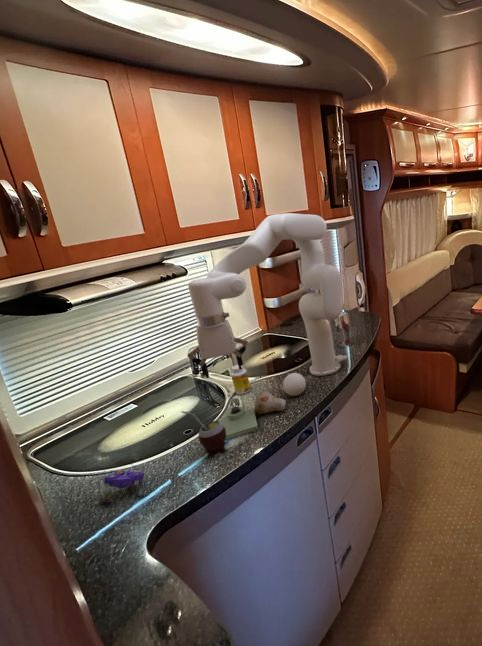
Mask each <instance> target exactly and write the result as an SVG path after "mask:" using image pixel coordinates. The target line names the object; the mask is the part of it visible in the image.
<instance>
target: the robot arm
mask: <svg viewBox="0 0 482 646" xmlns="http://www.w3.org/2000/svg"><path fill="white" fill-rule="evenodd" d="M327 230H328V226H327V223H326V220H325V219H324V218H323V217H322V216H321V215H317V214H305V213H293V212H289V213H288V212H287V213H286V212H284V213H276V214H275V213H274V214H271V215H268V216H267V217H265V218H264V219H263V220H262V221H261V222H260V224H259V225H258V226H257V227H256V228H255V230H254V231H253V232H252V233H251V234H250V235H249V236H248V238H247V239H246V240H245V241H244V242H243V243H242V244H240V245H239V246H238V247H236V248H235V249H233V250H232V251H230V252H229V253H228V254H227V255H225V256H224V257H223V258H222V259H220V261H219V262H217V264H216V265H215V266H214V267H213V268H212V269H211V270H210V271H209V273H208V274H207V276H206V277H203V278H197V279H194V280H191V281H189V283H188V286H187V287H188V288H187V289H188V291H189V295H190V299H191V302H192V307H193V311H194V315H195V318H196V322H197V325H196V327H195V328H196V330H195V331H196V339H197V346H195V347H194V348H193V349H192V350H190V351H189V352H187V354H186V357H187V358H188V359H189V360H190V361H192V363H194V364H195V365H198V366H199V367H200V369H201V372H202V375H203V376H205V378H206V379H208V378H210V373H209V370H208V365H207V360H210V359H215V358H218V357H219V358H220V357H222V356H227V355H231V354H233V355H235V357H236V361H237V365H238V366H239V369H240V370H241V369H242V368H241V366H242V365H243V366H244V362H243V358H242V356H243V355H244V353H245V351H246V350H247V347H248V343H249V341H248V340H247V339H245V338H240V337H236V336H234V332H233V329H232V326H231V324H230V322H229V320H228V319H227V318H229V317H230V313H229V312H225V311H224V309H223V306H222V300H227V299H228V300H229V299H235V298H238V297H240V296H241V295H243V294H244V293H245V291H246V289H247V282H246V280H245V278H244V277H243V276H242V275H240V274H241V273H243V272H244V271H247V270H249V269H251V268H253V267H256V266H259V265H260V264H262V263H265V261H267V259H269V257H270V255H271V254H272V253H273V252H274V250H275V249H276V248H277V247H278V246H279V244H280V243H281V242H282V241H285V240H286V241H287V240H291V241H293V242H294V243H295V244H296V245H297V247H298V249H299V252H300V260H301V261H300V262H301V263H300V266H301V282H302V285H303V287H305V288H306V289H309V290H314V291H320V292H310V293H308V292H307V293H306V294H304V295H302V296H301V297H300V299H299V302H298V310H299V313H300V317H301V318H302V320H303V324H304V328H305V333H306V337H307V343H308V349H309V354H310V358H311V365H310V366H309V369H308V370H309V374H311V375H312V376H315V377H316V376H317V377H325V376H329V375H332V374H335V373H336V372H338V371H339V370H340V369H341V367H342V364H341V363H342V362H345V361H348V359H349V358H348V355H347V354H346V355H343V354H339V355H337V354H336V353H335V347H334V340H333V335H332V329H331V324H330V321H334V319H336V318H337V317H338V316H339V315H340V313H341V312H342V309H343V281H342V275H341V271H340V270H339V269H338V267H336V266H335V265H333V264H328V263H327V264H325V251H324V247H323V245H322V243H321V242H320V240H322V239H323V238H324V237H325V235H326V233H327ZM236 343H237V344H240V345H241V347H240V348H239V349H238V348H237V344H236ZM198 352H199V354H200V356H201V358H198V357H197V356H195V355H196V354H197V353H198Z"/></svg>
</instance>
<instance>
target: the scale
mask: <svg viewBox="0 0 482 646" xmlns="http://www.w3.org/2000/svg"><path fill="white" fill-rule="evenodd" d="M238 407H239V409H240V412H239V413H237V414H232V411H231V409H230V410H228V412H227V413H226V414H227V415H225V416H222V417H219V418H218V422H220V423H221V424H223V426H224V427H225V430H226V440H230V439H233V438H236V437H239V436H242V435H245V434H249V433H252V432H255V431H258V430H259V426H258V422H257V416H256V412H255V407H252V408H249V409H245V407H243V406H238ZM226 440H225V441H226Z"/></svg>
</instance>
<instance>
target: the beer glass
mask: <svg viewBox="0 0 482 646" xmlns="http://www.w3.org/2000/svg"><path fill="white" fill-rule="evenodd" d="M333 325H334V326H333V327H334V330H335V332H336V336H337V339H338V347H340V348H347V347H350V346H351V345H352V340H351V336H350V329H351V327H350V325H351V324H350V319H349V314H348V312H347V311H341V313H340V315H339V316H338V317H337V318H336V319H334V320H333Z"/></svg>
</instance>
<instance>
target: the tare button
mask: <svg viewBox="0 0 482 646" xmlns="http://www.w3.org/2000/svg"><path fill="white" fill-rule="evenodd" d="M239 407H240V406H238V405H236V406H232V408H231V409H230V410H231V411H232V414H237V413H239V412H240V409H239Z"/></svg>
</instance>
